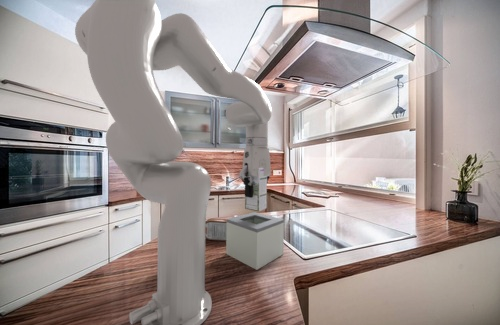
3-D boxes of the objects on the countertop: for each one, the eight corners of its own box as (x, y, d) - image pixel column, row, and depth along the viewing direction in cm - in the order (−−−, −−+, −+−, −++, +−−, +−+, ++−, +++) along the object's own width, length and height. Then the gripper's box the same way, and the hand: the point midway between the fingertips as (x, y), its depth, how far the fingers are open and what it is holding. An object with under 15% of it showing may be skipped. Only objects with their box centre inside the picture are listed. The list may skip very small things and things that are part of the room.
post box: (256, 269, 57) (257, 229, 57) (226, 253, 67) (226, 219, 67) (283, 254, 68) (283, 219, 68) (253, 242, 77) (254, 211, 77)
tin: (239, 239, 80) (239, 219, 80) (238, 242, 77) (238, 221, 77) (203, 237, 81) (203, 217, 81) (200, 240, 78) (201, 219, 78)
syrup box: (267, 208, 68) (267, 166, 68) (258, 211, 63) (259, 167, 63) (253, 206, 71) (253, 166, 71) (244, 209, 66) (244, 166, 66)
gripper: (246, 141, 58) (246, 200, 58) (280, 145, 71) (279, 194, 71) (230, 142, 63) (229, 197, 64) (264, 146, 76) (263, 191, 76)
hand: (255, 195), depth 67 cm, fingers closed on syrup box, 6 cm apart
